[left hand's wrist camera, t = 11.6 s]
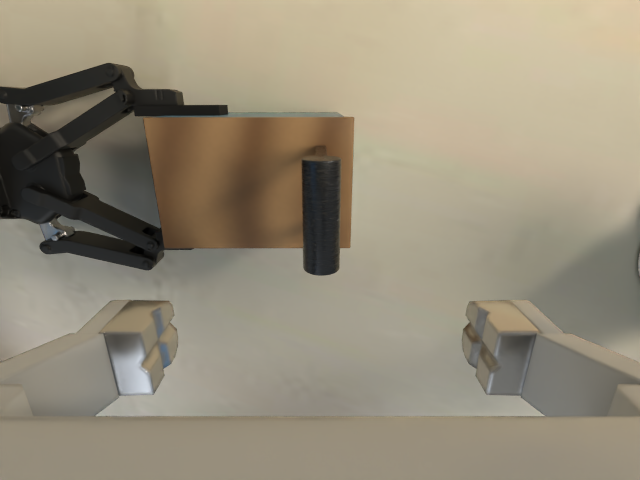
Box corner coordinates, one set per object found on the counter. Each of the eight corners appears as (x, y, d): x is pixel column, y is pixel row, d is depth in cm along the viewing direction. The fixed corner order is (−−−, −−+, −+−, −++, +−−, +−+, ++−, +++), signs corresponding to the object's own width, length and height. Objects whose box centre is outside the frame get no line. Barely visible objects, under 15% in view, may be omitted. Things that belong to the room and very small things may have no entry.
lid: (353, 116, 25) (370, 124, 17) (349, 243, 29) (361, 303, 20) (148, 117, 25) (62, 124, 17) (168, 244, 29) (105, 303, 20)
